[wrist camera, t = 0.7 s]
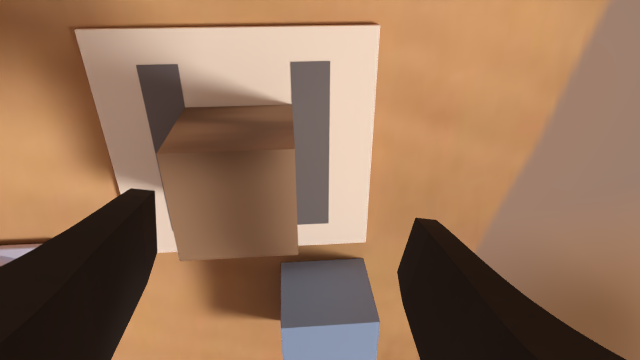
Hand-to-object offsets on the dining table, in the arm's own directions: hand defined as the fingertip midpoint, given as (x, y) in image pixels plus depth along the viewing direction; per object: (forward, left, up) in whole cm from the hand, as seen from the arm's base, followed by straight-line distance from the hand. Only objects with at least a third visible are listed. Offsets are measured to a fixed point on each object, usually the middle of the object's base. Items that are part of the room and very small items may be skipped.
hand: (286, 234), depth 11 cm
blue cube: (+2, -12, -10) cm, 16 cm away
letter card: (-2, -2, -10) cm, 10 cm away
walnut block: (-2, -2, -10) cm, 10 cm away
